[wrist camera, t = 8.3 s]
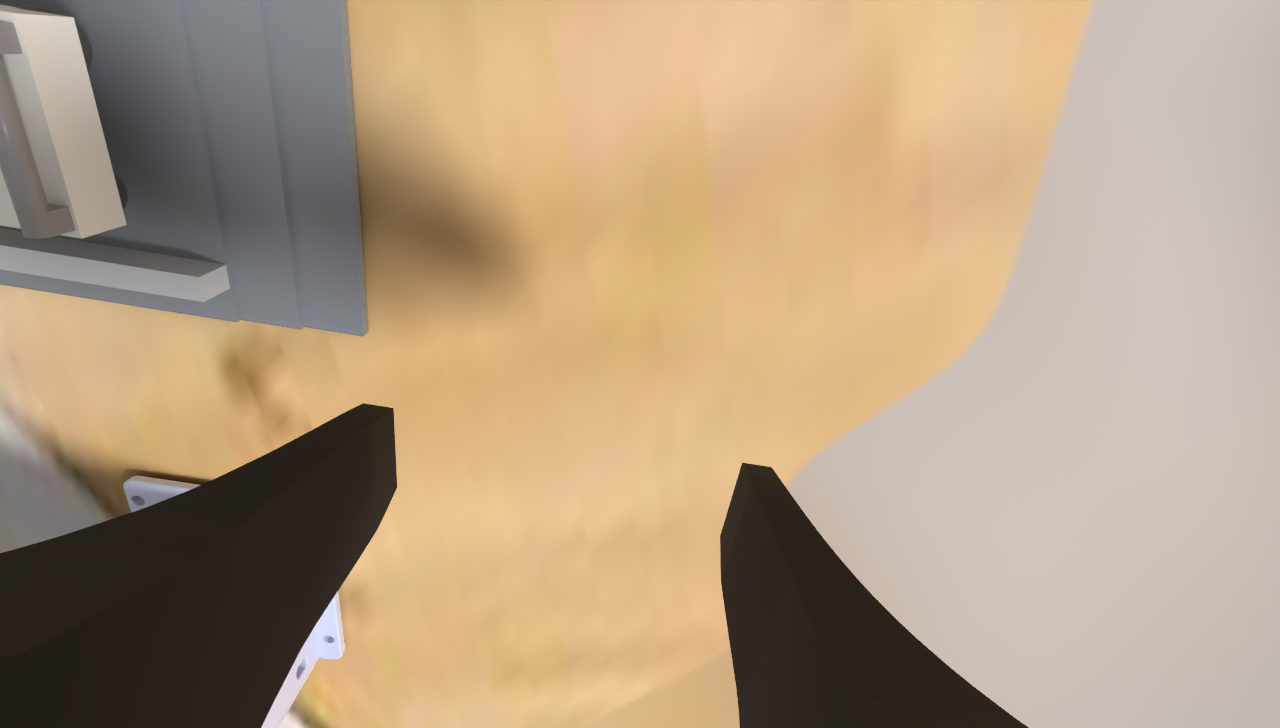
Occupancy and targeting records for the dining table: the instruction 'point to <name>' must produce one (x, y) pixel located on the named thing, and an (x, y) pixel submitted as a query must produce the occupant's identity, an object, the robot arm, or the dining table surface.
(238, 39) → the dock
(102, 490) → the dining table surface
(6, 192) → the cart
